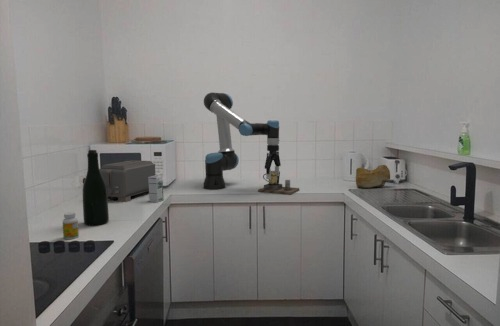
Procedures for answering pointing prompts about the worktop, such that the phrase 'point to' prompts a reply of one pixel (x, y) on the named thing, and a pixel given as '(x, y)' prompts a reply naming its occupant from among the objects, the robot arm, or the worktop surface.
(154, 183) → the syrup box
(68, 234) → the supplement bottle
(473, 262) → the worktop surface
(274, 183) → the gold tall rounded piece
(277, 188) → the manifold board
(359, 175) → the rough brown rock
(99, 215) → the dark green wine bottle
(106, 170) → the toaster
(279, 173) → the coffee mug
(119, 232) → the worktop surface
